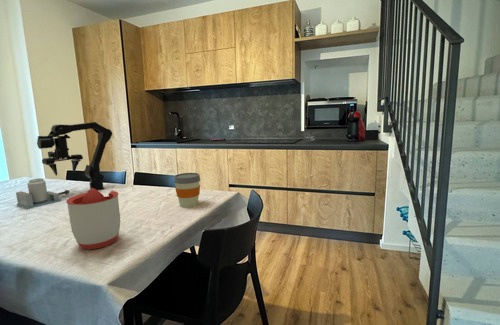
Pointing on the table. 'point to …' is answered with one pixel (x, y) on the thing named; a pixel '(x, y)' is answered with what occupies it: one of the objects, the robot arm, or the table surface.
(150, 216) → the table surface
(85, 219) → the citrus juicer
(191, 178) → the reusable coffee cup
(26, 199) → the vise
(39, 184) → the can
